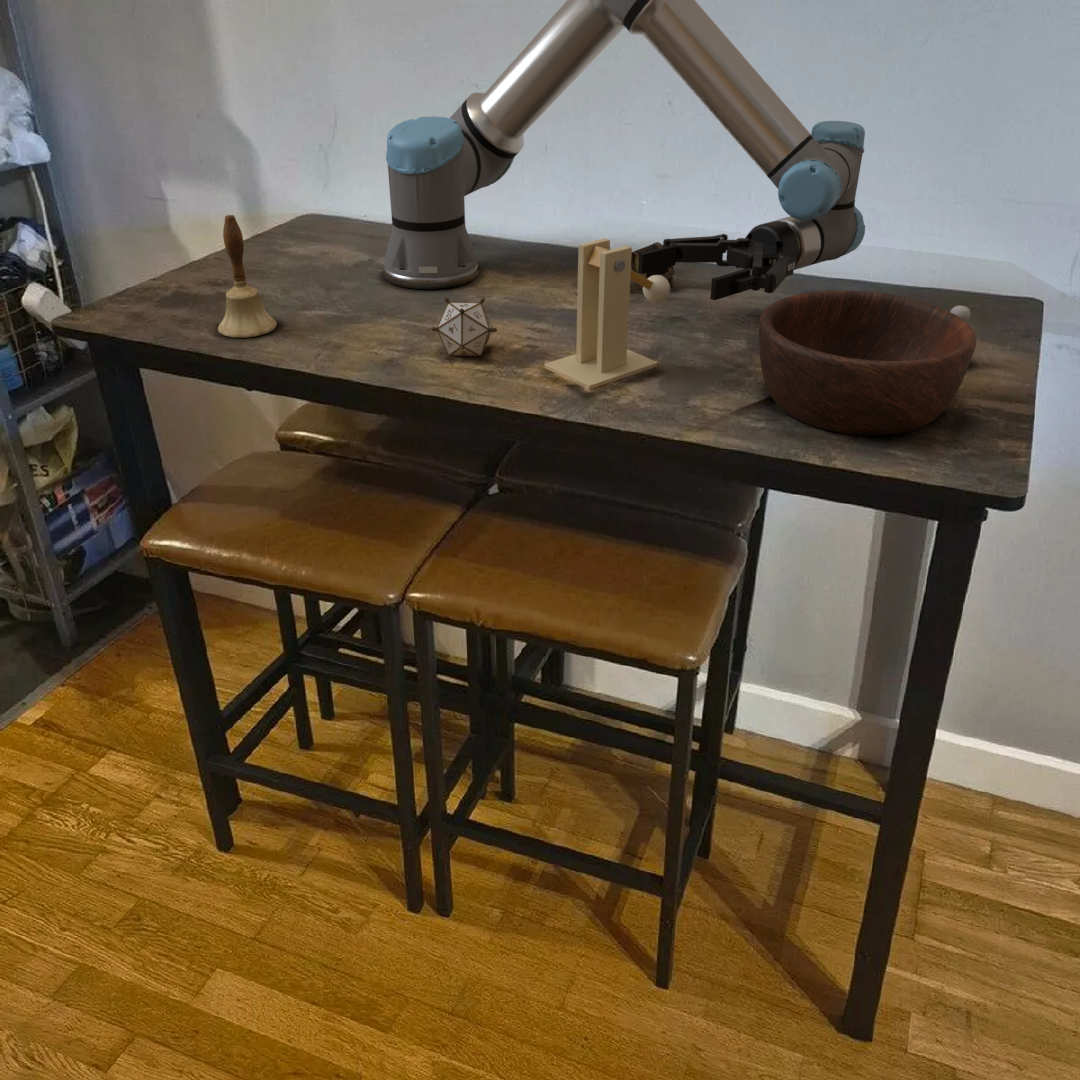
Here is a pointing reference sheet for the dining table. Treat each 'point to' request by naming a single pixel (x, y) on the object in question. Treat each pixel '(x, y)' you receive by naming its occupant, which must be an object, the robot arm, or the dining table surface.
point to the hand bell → (241, 293)
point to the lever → (640, 280)
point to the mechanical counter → (663, 272)
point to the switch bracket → (602, 321)
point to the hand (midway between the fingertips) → (675, 276)
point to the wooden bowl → (863, 360)
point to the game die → (464, 328)
